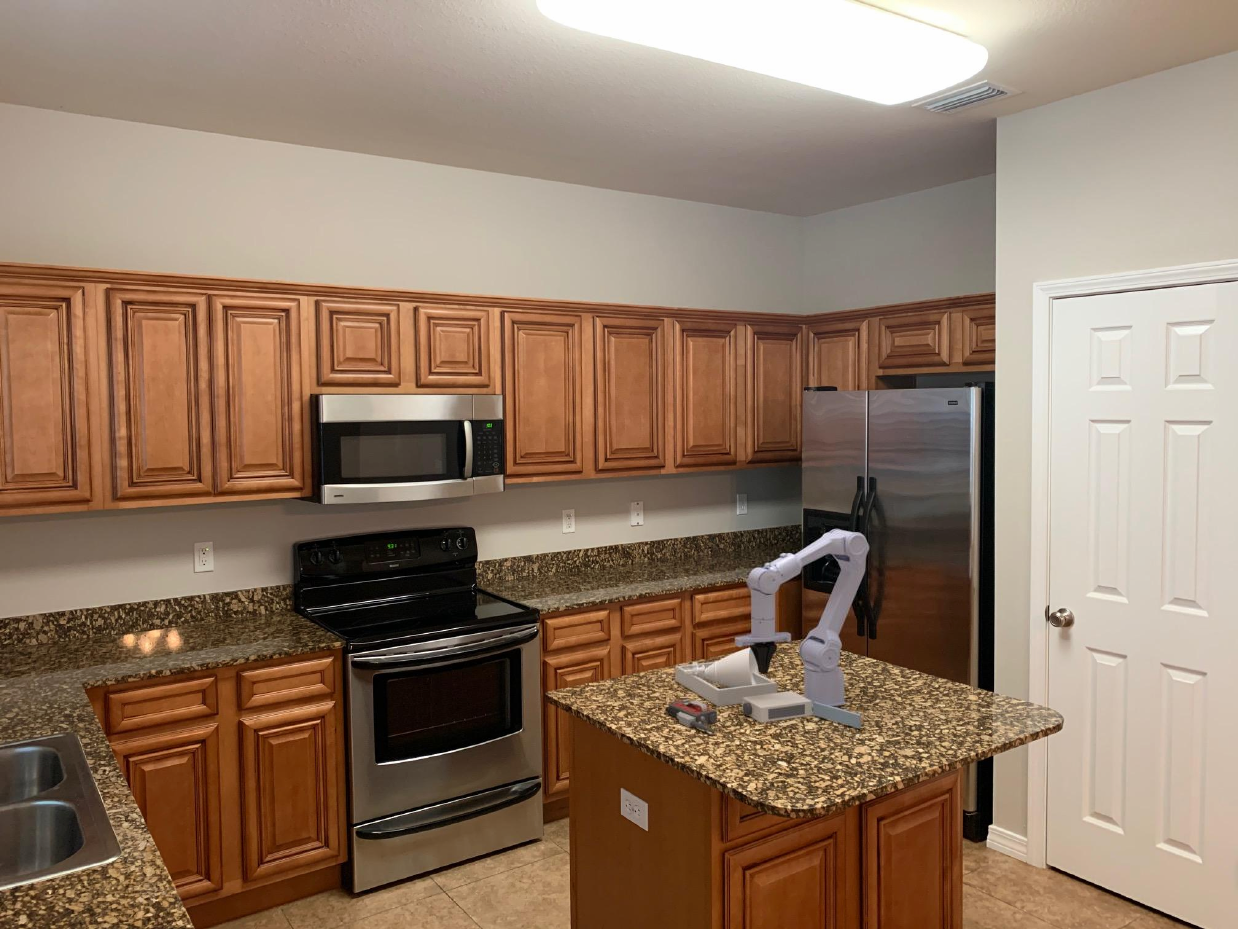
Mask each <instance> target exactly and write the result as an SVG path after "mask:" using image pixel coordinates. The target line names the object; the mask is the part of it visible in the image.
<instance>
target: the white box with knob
mask: <svg viewBox="0 0 1238 929" xmlns="http://www.w3.org/2000/svg"><path fill="white" fill-rule="evenodd" d="M741 711H742V713H743V714H744V716H749V717H751V719H753V720H756V721H757V722H759V723H763V724H764V723H768V722H776V721H782V720H790V719H795V718H796V719H797V718H803V717H810V716H813V708H812V701H811V700H809V699H807V698H805V697H804V695H803V696H802V695H801V694H799V693H796V692H795V691H792V690H789V691H783V692H777V693H773V694H765V695H758V696H750V697H743V698H742V703H741Z"/></svg>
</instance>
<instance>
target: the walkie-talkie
mask: <svg viewBox="0 0 1238 929" xmlns="http://www.w3.org/2000/svg"><path fill="white" fill-rule="evenodd" d="M664 711H665V712H667V713H669V715H670V716H672V717H674V718H676V719H678V724H680V725H683V726H684V727H687V728H692V727H693V728H697V729H700V730H702V731H704V732H709V733H712V734H715V732H716V730H715V729H712V728H710V727H708V726H706V725H708V724H714V723H717V722H718V711H717V710H714V709H712V708H710V707H709V706H708V705H707V703H704V702H702V701H699V700H694V701H693V700H692V701H691V699H690V698H688V699H685V698H684V699H680V700H675V701H671V702H670V703H669V706H666V707H664Z"/></svg>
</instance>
